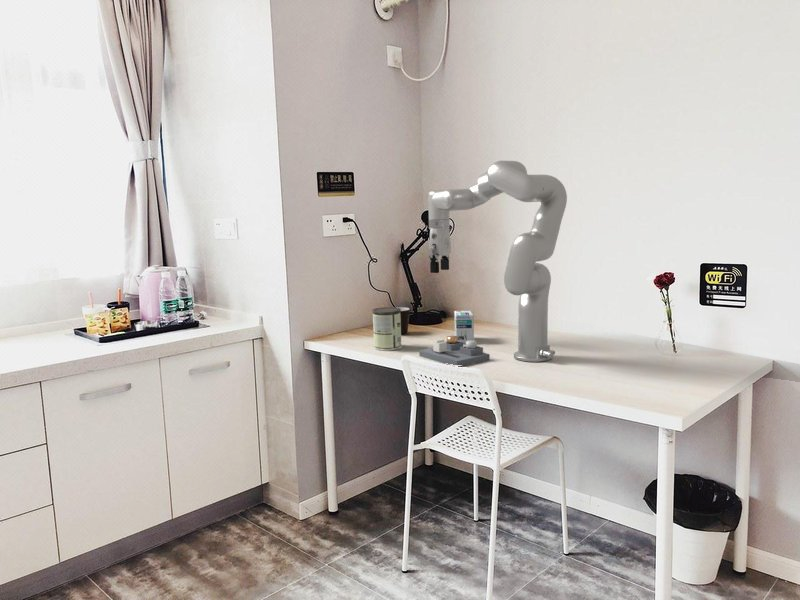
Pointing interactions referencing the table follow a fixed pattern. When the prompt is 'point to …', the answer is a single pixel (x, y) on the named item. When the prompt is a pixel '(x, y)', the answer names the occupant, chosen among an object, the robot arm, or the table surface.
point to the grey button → (471, 344)
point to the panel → (456, 354)
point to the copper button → (451, 339)
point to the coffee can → (387, 328)
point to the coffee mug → (404, 319)
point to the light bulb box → (464, 326)
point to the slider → (439, 345)
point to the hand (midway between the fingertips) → (439, 271)
